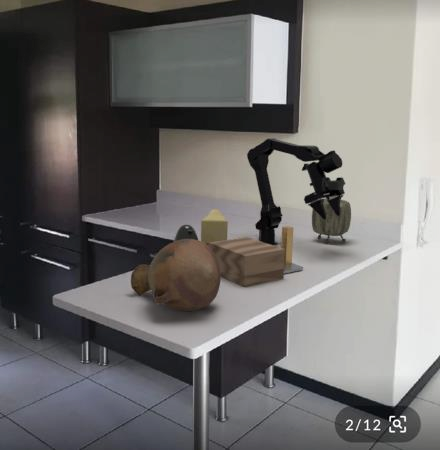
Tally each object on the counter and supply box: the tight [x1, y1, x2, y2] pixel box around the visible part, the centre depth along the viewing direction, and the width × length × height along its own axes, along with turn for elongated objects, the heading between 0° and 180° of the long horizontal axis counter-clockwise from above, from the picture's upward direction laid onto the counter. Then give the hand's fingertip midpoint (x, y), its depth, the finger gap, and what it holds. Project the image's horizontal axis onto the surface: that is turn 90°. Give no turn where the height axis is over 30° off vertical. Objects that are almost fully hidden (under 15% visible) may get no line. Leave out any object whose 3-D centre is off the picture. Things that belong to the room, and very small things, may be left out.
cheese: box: [200, 208, 229, 243], centre depth 215 cm, size 22×10×15 cm, turn 179°
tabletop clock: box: [311, 198, 352, 244], centre depth 231 cm, size 14×9×25 cm, turn 61°
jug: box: [130, 239, 222, 312], centre depth 157 cm, size 20×20×30 cm
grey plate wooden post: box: [280, 225, 304, 275], centre depth 189 cm, size 26×13×14 cm, turn 125°
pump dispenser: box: [173, 223, 199, 242], centre depth 192 cm, size 10×10×15 cm
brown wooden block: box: [209, 236, 285, 288], centre depth 185 cm, size 20×16×10 cm
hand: (332, 217), depth 206 cm, fingers open, 9 cm apart
